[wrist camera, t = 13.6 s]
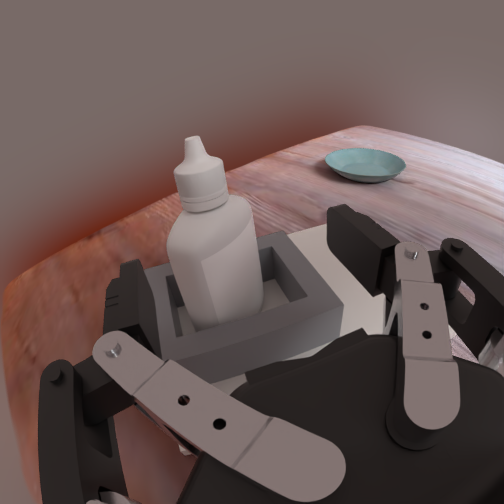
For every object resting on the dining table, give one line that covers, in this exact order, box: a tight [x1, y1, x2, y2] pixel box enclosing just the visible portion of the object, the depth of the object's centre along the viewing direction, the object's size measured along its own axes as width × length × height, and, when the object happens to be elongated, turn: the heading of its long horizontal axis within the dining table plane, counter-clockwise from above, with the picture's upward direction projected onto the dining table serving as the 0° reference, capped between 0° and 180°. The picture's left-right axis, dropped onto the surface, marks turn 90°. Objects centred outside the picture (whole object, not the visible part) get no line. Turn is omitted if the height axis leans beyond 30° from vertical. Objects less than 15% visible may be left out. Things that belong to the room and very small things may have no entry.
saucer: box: [325, 148, 406, 183], centre depth 40 cm, size 12×12×2 cm
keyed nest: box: [144, 224, 457, 456], centre depth 20 cm, size 20×16×4 cm
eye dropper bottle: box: [166, 136, 264, 332], centre depth 17 cm, size 4×6×12 cm
